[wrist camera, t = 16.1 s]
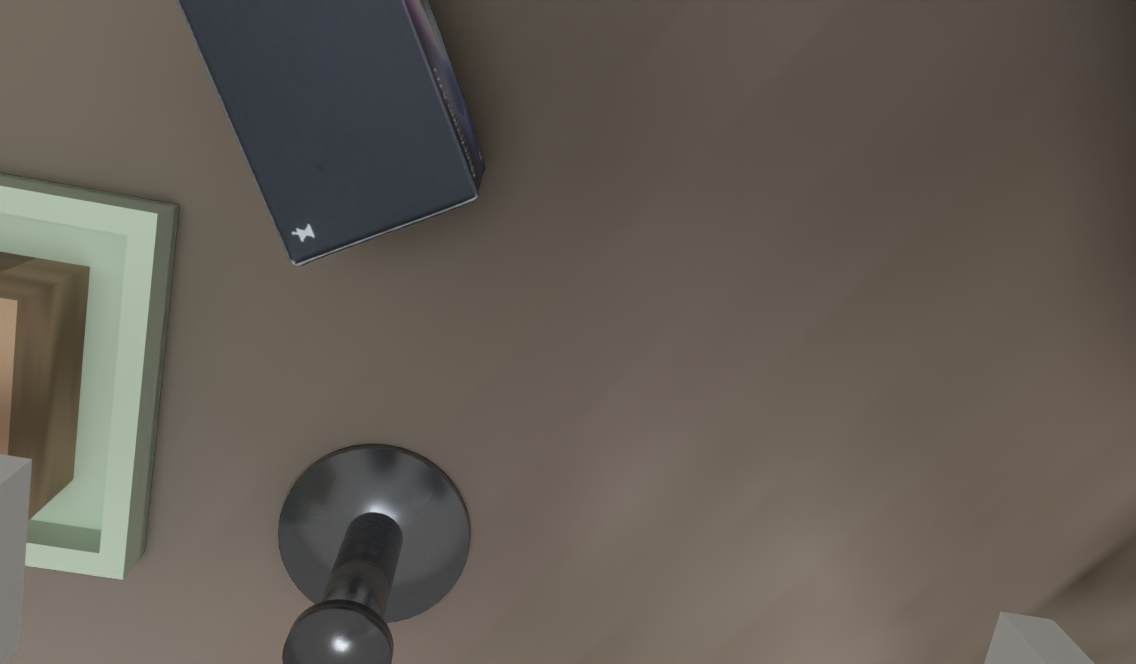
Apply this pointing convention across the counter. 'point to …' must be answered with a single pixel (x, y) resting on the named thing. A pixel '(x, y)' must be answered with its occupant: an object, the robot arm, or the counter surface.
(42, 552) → the tray
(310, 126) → the small box
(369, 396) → the counter surface
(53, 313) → the collar
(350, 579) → the dark grey knobbed stand
